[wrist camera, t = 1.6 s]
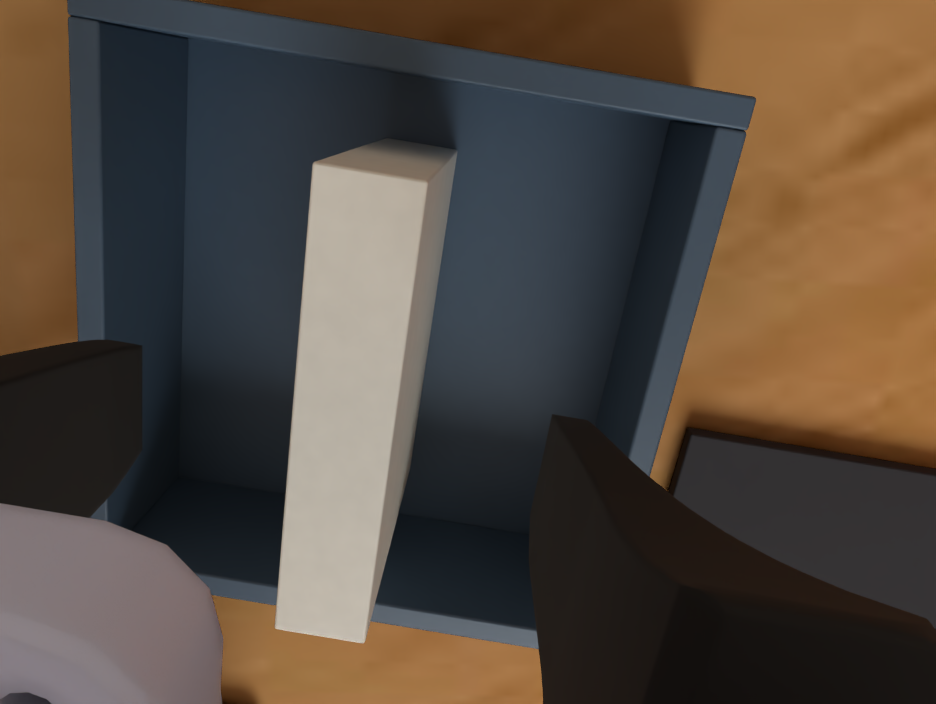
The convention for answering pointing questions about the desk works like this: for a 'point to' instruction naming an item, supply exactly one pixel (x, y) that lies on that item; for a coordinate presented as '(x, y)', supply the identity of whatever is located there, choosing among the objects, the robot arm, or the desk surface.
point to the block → (358, 375)
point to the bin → (458, 291)
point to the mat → (820, 512)
